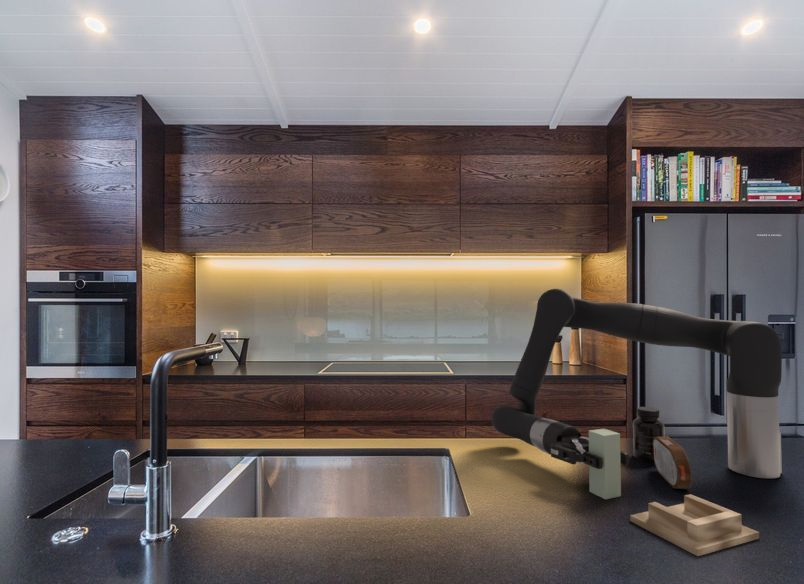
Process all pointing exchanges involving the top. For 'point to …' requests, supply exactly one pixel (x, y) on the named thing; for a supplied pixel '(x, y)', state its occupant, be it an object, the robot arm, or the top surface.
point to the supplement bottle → (646, 433)
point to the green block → (605, 464)
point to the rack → (696, 525)
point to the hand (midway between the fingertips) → (614, 461)
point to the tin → (672, 462)
